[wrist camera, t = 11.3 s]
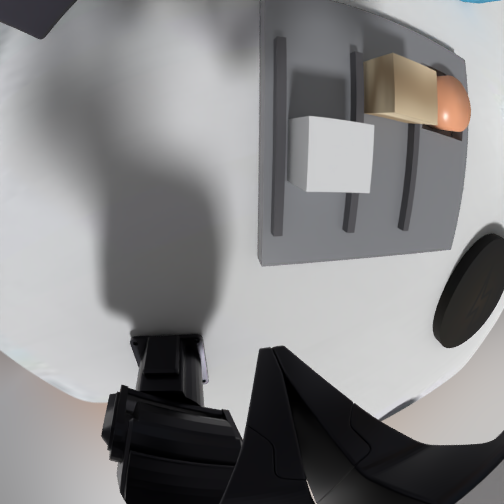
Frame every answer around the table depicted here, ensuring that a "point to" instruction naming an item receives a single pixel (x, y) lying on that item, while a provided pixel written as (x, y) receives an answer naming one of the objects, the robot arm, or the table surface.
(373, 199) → the grey railed board
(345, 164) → the white cube
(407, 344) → the table surface
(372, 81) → the beech slider
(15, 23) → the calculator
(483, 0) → the data package
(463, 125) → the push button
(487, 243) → the wireless charger
